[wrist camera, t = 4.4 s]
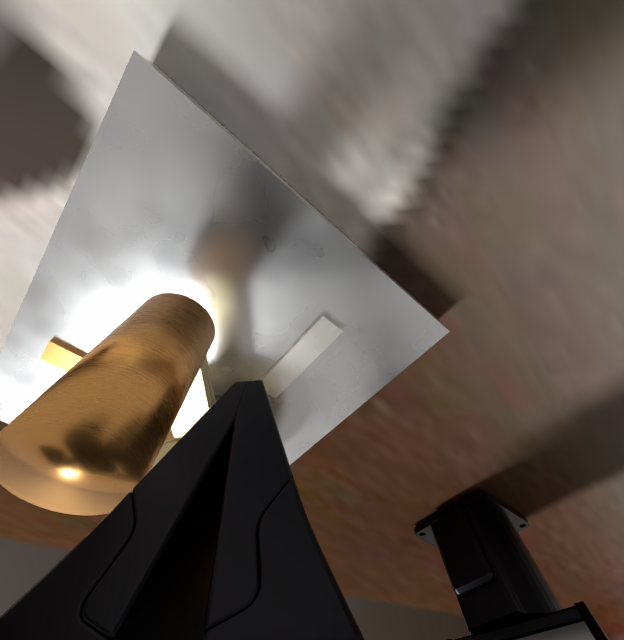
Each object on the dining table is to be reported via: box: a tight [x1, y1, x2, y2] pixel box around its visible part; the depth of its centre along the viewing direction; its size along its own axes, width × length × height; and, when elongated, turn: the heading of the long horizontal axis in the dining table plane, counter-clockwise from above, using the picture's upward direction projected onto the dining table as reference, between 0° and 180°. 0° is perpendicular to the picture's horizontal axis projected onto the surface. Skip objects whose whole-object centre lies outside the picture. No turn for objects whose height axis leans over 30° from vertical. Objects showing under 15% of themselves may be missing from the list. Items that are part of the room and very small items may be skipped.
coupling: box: [0, 293, 215, 515], centre depth 10 cm, size 12×6×6 cm, turn 179°
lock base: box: [0, 51, 450, 465], centre depth 14 cm, size 15×18×4 cm
